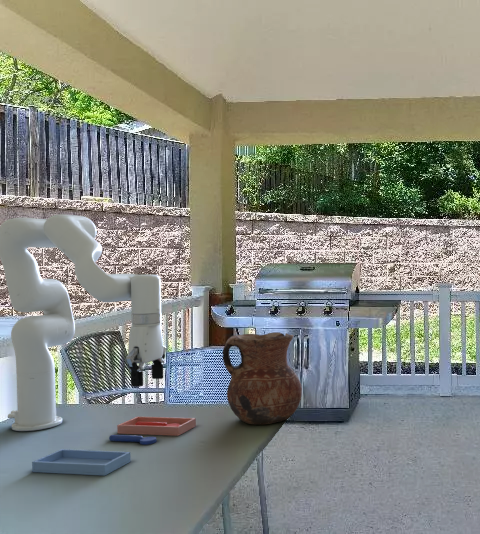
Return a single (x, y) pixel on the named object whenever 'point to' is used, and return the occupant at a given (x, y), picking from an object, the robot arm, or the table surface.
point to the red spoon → (156, 424)
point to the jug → (262, 379)
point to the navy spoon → (133, 439)
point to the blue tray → (81, 462)
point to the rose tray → (131, 428)
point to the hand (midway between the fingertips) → (147, 382)
